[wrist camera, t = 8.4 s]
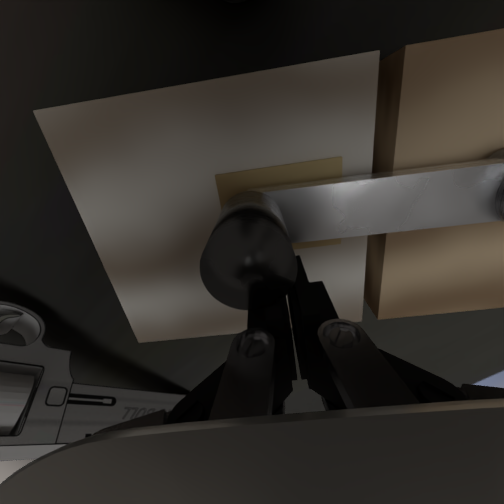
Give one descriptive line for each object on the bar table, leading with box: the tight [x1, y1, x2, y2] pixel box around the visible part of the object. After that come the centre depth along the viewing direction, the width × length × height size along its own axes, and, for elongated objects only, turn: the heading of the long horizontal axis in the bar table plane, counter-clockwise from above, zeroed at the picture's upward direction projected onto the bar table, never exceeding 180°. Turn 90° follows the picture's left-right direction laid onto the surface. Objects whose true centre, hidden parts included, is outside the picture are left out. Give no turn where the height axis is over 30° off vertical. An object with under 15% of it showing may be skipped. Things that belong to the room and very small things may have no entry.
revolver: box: [0, 300, 186, 461], centre depth 20 cm, size 4×29×15 cm, turn 44°
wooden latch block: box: [33, 28, 504, 343], centre depth 15 cm, size 14×26×5 cm, turn 98°
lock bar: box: [200, 149, 504, 310], centre depth 9 cm, size 15×3×6 cm, turn 97°
